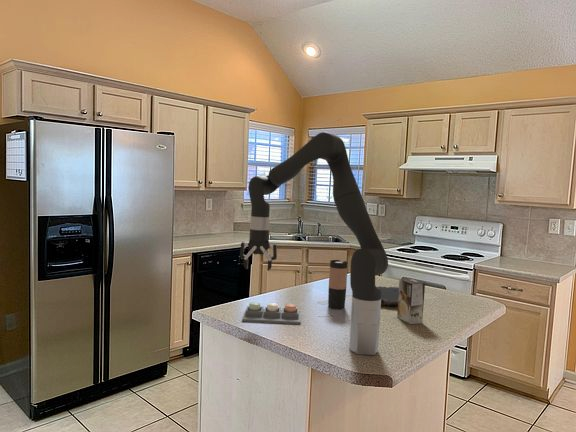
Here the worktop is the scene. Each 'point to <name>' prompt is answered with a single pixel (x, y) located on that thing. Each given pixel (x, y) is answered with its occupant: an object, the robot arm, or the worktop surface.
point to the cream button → (272, 307)
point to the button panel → (272, 316)
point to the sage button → (254, 306)
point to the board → (389, 296)
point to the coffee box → (411, 301)
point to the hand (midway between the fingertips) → (257, 269)
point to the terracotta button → (290, 308)
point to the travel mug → (337, 284)
